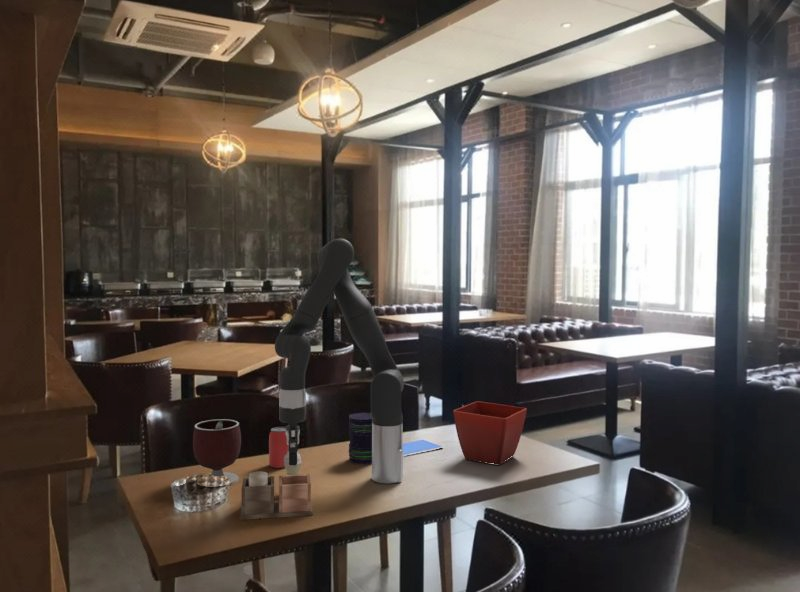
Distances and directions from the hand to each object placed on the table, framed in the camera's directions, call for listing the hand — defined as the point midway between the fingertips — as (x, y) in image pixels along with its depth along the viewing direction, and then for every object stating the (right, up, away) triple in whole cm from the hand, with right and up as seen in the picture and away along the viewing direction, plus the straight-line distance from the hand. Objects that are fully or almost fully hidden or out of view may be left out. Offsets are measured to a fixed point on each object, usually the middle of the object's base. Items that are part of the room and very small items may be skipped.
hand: (292, 460), depth 185 cm
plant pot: (+61, -8, +34) cm, 70 cm away
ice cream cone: (0, -9, 0) cm, 9 cm away
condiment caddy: (-2, -10, -14) cm, 17 cm away
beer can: (-8, -8, +24) cm, 27 cm away
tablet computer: (+35, -8, +44) cm, 57 cm away
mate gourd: (-24, -9, +9) cm, 27 cm away
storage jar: (+18, -8, +31) cm, 37 cm away
